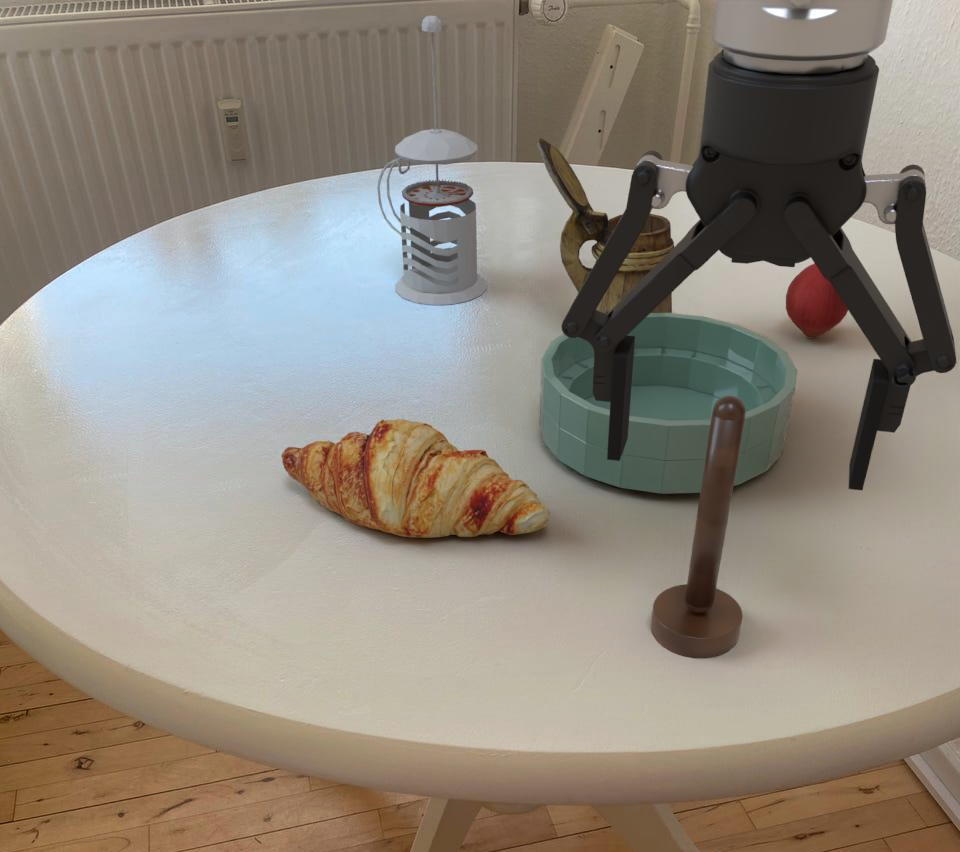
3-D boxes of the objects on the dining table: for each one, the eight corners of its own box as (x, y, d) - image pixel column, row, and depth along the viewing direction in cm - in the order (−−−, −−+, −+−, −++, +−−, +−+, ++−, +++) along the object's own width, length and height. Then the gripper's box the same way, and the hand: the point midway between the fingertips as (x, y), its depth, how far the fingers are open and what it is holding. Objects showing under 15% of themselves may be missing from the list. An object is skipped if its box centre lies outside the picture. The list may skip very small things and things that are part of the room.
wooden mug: (537, 318, 105) (542, 123, 94) (675, 325, 104) (697, 127, 92) (528, 357, 99) (532, 152, 87) (674, 365, 97) (698, 158, 85)
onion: (809, 319, 105) (826, 237, 99) (854, 340, 101) (874, 256, 96) (767, 333, 102) (781, 250, 97) (811, 355, 98) (829, 270, 93)
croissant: (556, 554, 80) (576, 449, 78) (524, 570, 71) (545, 451, 69) (305, 500, 86) (318, 400, 84) (243, 508, 76) (256, 396, 74)
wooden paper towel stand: (742, 610, 70) (787, 380, 59) (734, 665, 65) (780, 428, 55) (657, 596, 71) (686, 369, 60) (644, 649, 67) (672, 415, 56)
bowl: (789, 397, 92) (803, 326, 88) (772, 519, 78) (787, 440, 74) (568, 371, 96) (572, 302, 92) (514, 481, 82) (515, 406, 78)
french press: (457, 312, 107) (449, 30, 91) (362, 290, 111) (339, 18, 95) (504, 279, 113) (505, 10, 97) (412, 260, 118) (399, 0, 101)
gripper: (505, 61, 48) (509, 469, 61) (1112, 84, 42) (966, 527, 56) (543, 27, 53) (539, 408, 67) (1085, 42, 47) (958, 455, 61)
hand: (733, 463), depth 61 cm, fingers open, 13 cm apart
